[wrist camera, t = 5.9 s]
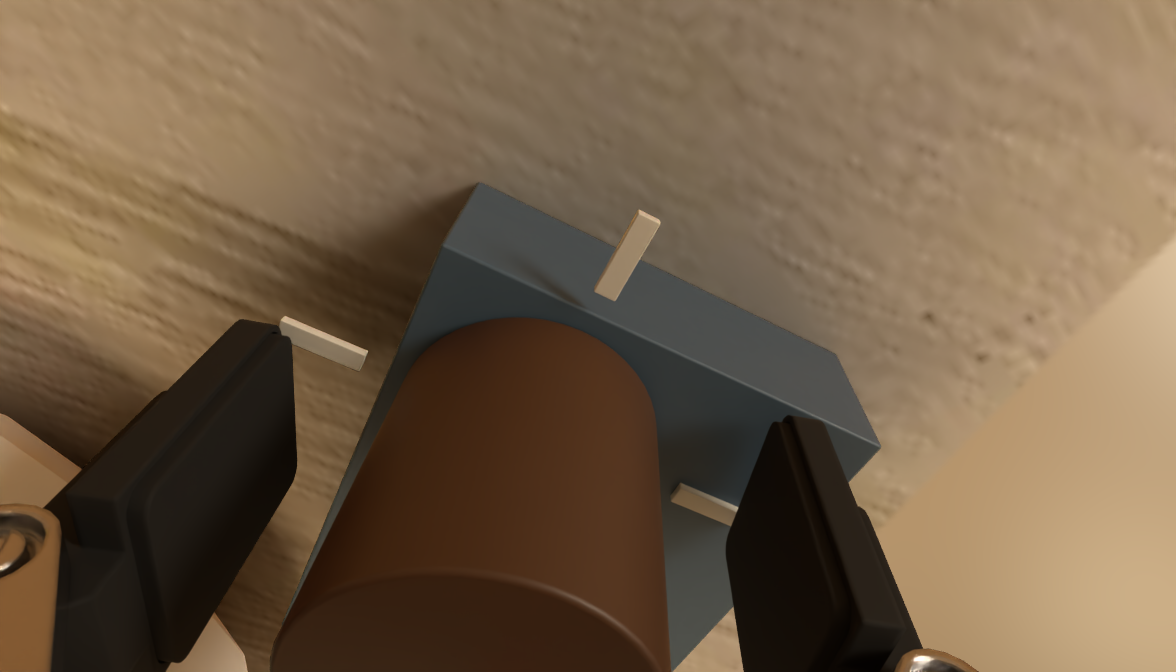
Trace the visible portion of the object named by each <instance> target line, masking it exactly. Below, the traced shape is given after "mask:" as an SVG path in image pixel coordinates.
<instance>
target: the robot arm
mask: <svg viewBox="0 0 1176 672" xmlns="http://www.w3.org/2000/svg"><path fill="white" fill-rule="evenodd" d="M296 469H297V447H296V425H295V403H294V381H293V359H292V343H291V339H290V337H288V336H284V335H282V333H281V330H280V327H278V326H277V325H273V324H267V323H261V322H256V321H250V320H244V319H241V320H238V321H237V322H235V323H234V324H233V325H232V326H231V327H230V328H229V329H228V330H227V331H226V332H225V333H224V334H223V335H222V336H221V337H220V338H219V339H218V340H217V341H216V342H215V343H214V344H213V345H212V346H211V347H210V348H209V349H208V350H207V351H206V352H205V353H204V354H203V355H202V356H201V357H200V358H199V359H198V360H197V361H196V362H195V363H194V364H193V365H192V366H191V367H190V368H189V369H188V370H187V371H186V372H185V373H184V374H183V375H182V376H181V377H180V378H179V379H178V380H177V381H176V382H175V383H174V384H173V385H172V386H171V387H170V388H169V389H168V390H167V391H163V392H161V393H160V394H159V395H157V396H156V397H155V398H154V399H153V400H152V401H151V402H150V403H149V404H148V405H147V406H146V407H145V408H144V409H143V410H142V411H141V412H140V413H139V414H137V415H136V416H135V417H134V418H133V419H132V420H131V421H130V422H129V423H128V424H127V425H126V426H125V427H124V428H123V429H122V430H121V431H120V432H119V433H118V434H117V435H116V436H115V437H114V438H113V439H112V440H111V441H110V442H109V443H108V444H107V445H106V446H105V447H104V448H103V449H102V450H101V451H100V452H99V453H98V454H97V455H96V456H95V457H94V458H93V459H92V460H91V461H90V462H89V463H88V464H87V465H86V466H85V467H84V468H83V469H82V470H81V471H80V472H79V473H78V474H77V475H76V476H75V477H74V478H73V479H72V480H71V481H70V482H69V483H68V484H67V485H66V486H65V487H64V488H63V489H62V490H61V491H60V492H59V493H58V494H57V495H56V496H55V497H54V498H53V499H52V500H51V501H50V502H49V503H47V504H46V505H45V506H44V507H43V508H41V507H39V506H36V505H29V504H19V503H13V504H2V505H0V672H166V670H167V669H168V667H169V666H170V664H171V662H172V663H181V662H182V661H183V660H184V659H185V658H186V657H187V656H188V654H189V653H190V651H191V650H192V648H193V646H194V645H195V643H196V641H197V640H198V638H199V637H200V635H201V633H202V632H203V630H204V628H205V627H206V625H207V623H208V622H209V620H210V618H211V617H212V615H213V613H214V612H215V610H216V608H217V607H218V605H219V603H220V602H221V600H222V599H223V597H224V595H225V594H226V592H227V590H228V589H229V587H230V585H231V584H232V582H233V580H234V579H235V577H236V575H237V574H238V572H239V570H240V569H241V567H242V565H243V564H244V562H245V561H246V559H247V557H248V556H249V554H250V552H251V551H252V549H253V547H254V546H255V544H256V542H257V541H258V539H259V537H260V536H261V534H262V532H263V531H264V529H265V527H266V526H267V524H268V523H269V521H270V519H271V518H272V516H273V514H274V513H275V511H276V509H277V508H278V506H279V504H280V503H281V501H282V499H283V498H284V496H285V494H286V493H287V491H288V489H289V488H290V486H291V484H292V482H293V480H294V477H295V473H296ZM725 554H726V562H727V568H728V574H729V581H730V587H731V593H732V600H733V606H734V612H735V619H736V625H737V631H738V638H739V644H740V650H741V657H742V663H743V670H744V672H978V671H977V670H976V669H974V668H973V667H971V666H970V665H968V664H967V663H966V662H964V661H962V660H961V659H958V658H956V657H954V656H952V655H950V654H948V653H945V652H941V651H937V650H932V649H923V647H922V645H921V643H920V640H919V638H918V635H917V633H916V630H915V628H914V626H913V623H912V621H911V618H910V616H909V613H908V611H907V608H906V606H905V604H904V601H903V599H902V596H901V594H900V591H899V589H898V587H897V584H896V582H895V579H894V577H893V575H892V572H891V570H890V567H889V565H888V562H887V560H886V558H885V555H884V553H883V550H882V548H881V545H880V543H879V540H878V538H877V536H876V533H875V531H874V528H873V526H872V524H871V521H870V519H869V517H868V515H867V513H866V512H865V510H863V509H862V508H861V507H859V506H857V504H856V501H855V499H854V496H853V494H852V491H851V489H850V486H849V484H848V481H847V479H846V476H845V474H844V471H843V469H842V466H841V464H840V461H839V459H838V456H837V454H836V451H835V449H834V446H833V444H832V441H831V439H830V436H829V434H828V431H827V429H826V426H825V424H824V423H823V422H822V421H820V420H815V419H810V418H804V417H798V416H792V415H787V416H786V417H785V418H784V419H783V420H782V422H777V421H775V422H773V423H772V424H771V426H770V428H769V430H768V433H767V435H766V438H765V441H764V443H763V446H762V448H761V451H760V453H759V456H758V459H757V461H756V464H755V466H754V469H753V471H752V474H751V476H750V479H749V482H748V484H747V487H746V489H745V492H744V494H743V497H742V499H741V502H740V505H739V507H738V510H737V512H736V515H735V517H734V520H733V522H732V525H731V528H730V530H729V533H728V536H727V540H726V550H725Z"/></svg>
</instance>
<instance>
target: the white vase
mask: <svg viewBox="0 0 1176 672" xmlns="http://www.w3.org/2000/svg"><path fill="white" fill-rule="evenodd" d="M81 470H82V469H81V468H80V467H78V466H77V465H75V464H74V463H73V462H71V461H70V460H68V459H67V458H66V457H64V456H63V455H61V454H60V453H59V452H57V451H56V450H54V449H53V448H52V447H50V446H49V445H47V444H46V443H45V442H43V441H42V440H40V439H39V438H38V437H36V436H35V435H33V434H32V433H31V432H29V431H28V430H26V429H25V428H24V427H22V426H21V425H19V424H18V423H17V422H15V421H14V420H12V419H11V418H10V417H8V416H6V415H3V414H1V413H0V505H2V504H13V503H19V504H29V505H36V506H39V507H41V508H43V507H44V506H45V505H46V504H47V503H49V502H50V501H51V500H52V499H53V498H54V497H55V496H56V495H57V494H58V493H59V492H60V491H61V490H62V489H63V488H64V487H65V486H66V485H67V484H68V483H69V482H70V481H71V480H72V479H73V478H74V477H75V476H76V475H77V474H78V473H79V472H80V471H81ZM166 672H248V671H247V666H246V660H245V655H244V653H243V652H242V650H241V649H240V648H239V646H238V645H237V643H236V642H235V641H234V639H233V638H232V636H231V635H230V634H229V632H228V631H227V629H226V628H225V626H224V625H223V624H222V622H221V621H220V619H219V618H218V617H217V615H216V614H215V612H214V613H213V615H212V617H211V618H210V620H209V622H208V623H207V625H206V627H205V628H204V630H203V632H202V633H201V635H200V637H199V638H198V640H197V641H196V643H195V645H194V646H193V648H192V650H191V651H190V653H189V654H188V656H187V657H186V658H185V659H184V660H183V661H182V662H181V663H172V662H171V664H170V666H169V667H168V669H167V670H166Z"/></svg>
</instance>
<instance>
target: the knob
mask: <svg viewBox="0 0 1176 672" xmlns="http://www.w3.org/2000/svg"><path fill="white" fill-rule="evenodd" d="M270 672H671V659H670V643H669V626H668V609H667V592H666V576H665V559H664V542H663V525H662V509H661V492H660V475H659V459H658V442H657V426H656V418H655V412H654V408H653V405H652V401H651V399H650V396H649V394H648V392H647V390H646V388H645V386H644V384H643V383H642V381H641V380H640V378H639V377H638V375H637V374H636V372H635V371H634V370H633V369H632V368H631V367H630V365H629V364H628V363H627V362H626V361H625V360H624V359H623V358H622V357H621V356H620V355H618V354H617V353H616V352H615V351H614V350H613V349H611V348H610V347H609V346H607V345H606V344H604V343H603V342H601V341H600V340H598V339H597V338H595V337H593V336H591V335H589V334H587V333H585V332H583V331H581V330H578V329H575V328H573V327H570V326H567V325H565V324H561V323H557V322H553V321H549V320H543V319H535V318H520V317H509V318H499V319H491V320H486V321H482V322H477V323H474V324H471V325H468V326H466V327H463V328H460V329H457V330H455V331H454V332H452V333H450V334H448V335H446V336H444V337H442V338H441V339H439V340H438V341H437V342H435V343H434V344H432V345H431V346H430V347H429V348H428V349H427V350H425V351H424V352H423V353H422V354H421V355H420V356H419V357H418V359H417V360H416V361H415V363H414V364H413V365H412V367H411V368H410V369H409V371H408V373H407V375H406V377H405V379H404V381H403V383H402V385H401V387H400V389H399V391H398V393H397V395H396V397H395V399H394V401H393V403H392V405H391V407H390V409H389V411H388V413H387V415H386V417H385V419H384V421H383V423H382V425H381V427H380V429H379V431H378V433H377V435H376V437H375V439H374V441H373V443H372V445H371V447H370V450H369V452H368V454H367V456H366V458H365V460H364V462H363V464H362V466H361V468H360V470H359V472H358V474H357V476H356V478H355V480H354V482H353V484H352V486H351V488H350V490H349V492H348V494H347V496H346V498H345V500H344V502H343V504H342V506H341V508H340V510H339V512H338V514H337V516H336V518H335V520H334V522H333V524H332V526H331V528H330V530H329V532H328V534H327V536H326V538H325V540H324V542H323V544H322V546H321V548H320V550H319V552H318V554H317V556H316V558H315V560H314V562H313V564H312V567H311V569H310V571H309V573H308V575H307V577H306V579H305V581H304V583H303V585H302V587H301V589H300V591H299V593H298V595H297V597H296V599H295V601H294V603H293V605H292V607H291V609H290V611H289V613H288V615H287V617H286V619H285V621H284V623H283V625H282V627H281V629H280V631H279V633H278V635H277V637H276V639H275V641H274V645H273V648H272V652H271V656H270Z"/></svg>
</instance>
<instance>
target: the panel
mask: <svg viewBox="0 0 1176 672" xmlns="http://www.w3.org/2000/svg"><path fill="white" fill-rule="evenodd" d="M659 226H660V220H659V219H657V218H655V217H653V216H651V215H649V214H647V213H645V212H643V211H641V210H638V211H637V212H636V214H635V216H634V218H633V219H632V221H631V223H630V225H629V227H628V228H627V230H626V232H625V234H624V235H623V237H622V239H621V241H620V242H619V244H618V246H617V248H615V247H613V246H611V245H609V244H607V243H605V242H603V241H601V240H598V239H596V238H594V237H592V236H590V235H588V234H586V233H584V232H582V231H580V230H578V229H576V228H574V227H572V226H570V225H568V224H565V223H563V222H561V221H559V220H557V219H555V218H553V217H551V216H549V215H547V214H545V213H543V212H541V211H539V210H537V209H535V208H532V207H530V206H528V205H526V204H524V203H522V202H520V201H518V200H516V199H514V198H512V197H510V196H508V195H506V194H504V193H501V192H499V191H497V190H495V189H493V188H491V187H489V186H487V185H485V184H483V183H481V182H478V183H477V185H476V186H475V188H474V190H473V191H472V193H471V195H470V196H469V198H468V200H467V201H466V203H465V205H464V207H463V208H462V210H461V212H460V213H459V215H458V217H457V218H456V220H455V222H454V223H453V225H452V227H451V229H450V230H449V232H448V234H447V235H446V237H445V239H444V240H443V242H442V244H441V246H440V248H439V250H438V253H437V255H436V258H435V260H434V262H433V265H432V267H431V270H430V272H429V274H428V277H427V279H426V281H425V284H424V286H423V289H422V291H421V293H420V296H419V298H418V301H417V303H416V305H415V308H414V310H413V312H412V315H411V317H410V320H409V322H408V324H407V327H406V329H405V332H404V334H403V336H402V339H401V341H400V343H399V346H398V348H397V351H396V353H395V355H394V358H393V360H392V363H391V365H390V367H389V370H388V372H387V374H386V377H385V379H384V382H383V384H382V386H381V389H380V391H379V394H378V396H377V398H376V401H375V403H374V405H373V408H372V410H371V413H370V415H369V417H368V420H367V422H366V425H365V427H364V429H363V432H362V434H361V436H360V439H359V441H358V444H357V446H356V448H355V451H354V453H353V456H352V458H351V460H350V463H349V465H348V467H347V470H346V472H345V475H344V477H343V479H342V482H341V484H340V487H339V489H338V491H337V494H336V496H335V498H334V501H333V503H332V506H331V508H330V510H329V513H328V515H327V518H326V520H325V522H324V525H323V527H322V529H321V532H320V534H319V537H318V539H317V541H316V544H315V546H314V549H313V551H312V553H311V556H310V558H309V560H308V563H307V565H306V568H305V570H304V572H303V575H302V577H301V580H300V582H299V584H298V587H297V589H296V591H295V594H294V596H293V599H292V601H291V603H290V606H289V608H288V611H287V613H286V615H285V618H284V620H283V622H282V625H283V623H284V621H285V619H286V617H287V615H288V613H289V611H290V609H291V607H292V605H293V603H294V601H295V599H296V597H297V595H298V593H299V591H300V589H301V587H302V585H303V583H304V581H305V579H306V577H307V575H308V573H309V571H310V569H311V567H312V564H313V562H314V560H315V558H316V556H317V554H318V552H319V550H320V548H321V546H322V544H323V542H324V540H325V538H326V536H327V534H328V532H329V530H330V528H331V526H332V524H333V522H334V520H335V518H336V516H337V514H338V512H339V510H340V508H341V506H342V504H343V502H344V500H345V498H346V496H347V494H348V492H349V490H350V488H351V486H352V484H353V482H354V480H355V478H356V476H357V474H358V472H359V470H360V468H361V466H362V464H363V462H364V460H365V458H366V456H367V454H368V452H369V450H370V447H371V445H372V443H373V441H374V439H375V437H376V435H377V433H378V431H379V429H380V427H381V425H382V423H383V421H384V419H385V417H386V415H387V413H388V411H389V409H390V407H391V405H392V403H393V401H394V399H395V397H396V395H397V393H398V391H399V389H400V387H401V385H402V383H403V381H404V379H405V377H406V375H407V373H408V371H409V369H410V368H411V367H412V365H413V364H414V363H415V361H416V360H417V359H418V357H419V356H420V355H421V354H422V353H423V352H424V351H425V350H427V349H428V348H429V347H430V346H431V345H432V344H434V343H435V342H437V341H438V340H439V339H441V338H442V337H444V336H446V335H448V334H450V333H452V332H454V331H455V330H457V329H460V328H463V327H466V326H468V325H471V324H474V323H477V322H482V321H486V320H491V319H499V318H509V317H520V318H535V319H543V320H549V321H553V322H557V323H561V324H565V325H567V326H570V327H573V328H575V329H578V330H581V331H583V332H585V333H587V334H589V335H591V336H593V337H595V338H597V339H598V340H600V341H601V342H603V343H604V344H606V345H607V346H609V347H610V348H611V349H613V350H614V351H615V352H616V353H617V354H618V355H620V356H621V357H622V358H623V359H624V360H625V361H626V362H627V363H628V364H629V365H630V367H631V368H632V369H633V370H634V371H635V372H636V374H637V375H638V377H639V378H640V380H641V381H642V383H643V384H644V386H645V388H646V390H647V392H648V394H649V396H650V399H651V401H652V405H653V408H654V412H655V418H656V426H657V442H658V459H659V475H660V492H661V509H662V525H663V542H664V559H665V576H666V592H667V609H668V626H669V643H670V659H671V672H673V671H674V669H675V668H676V667H677V666H678V665H679V664H680V663H681V662H682V661H683V660H684V659H685V658H686V657H687V655H688V654H689V653H690V652H691V651H692V650H693V649H694V648H695V647H696V646H697V645H698V644H699V643H700V642H701V640H702V639H703V638H704V637H705V636H706V635H707V634H708V633H709V632H710V631H711V630H712V629H713V628H714V627H715V625H716V624H717V623H718V622H719V621H720V620H721V619H722V618H723V617H724V616H725V615H726V614H727V613H728V611H729V610H730V609H731V608H732V607H733V600H732V593H731V587H730V581H729V574H728V568H727V562H726V554H725V550H726V540H727V536H728V533H729V530H730V528H731V525H732V522H733V520H734V517H735V515H736V512H737V510H738V507H739V505H740V502H741V499H742V497H743V494H744V492H745V489H746V487H747V484H748V482H749V479H750V476H751V474H752V471H753V469H754V466H755V464H756V461H757V459H758V456H759V453H760V451H761V448H762V446H763V443H764V441H765V438H766V435H767V433H768V430H769V428H770V426H771V424H772V423H773V422H775V421H777V422H782V420H783V419H784V418H785V417H786V416H787V415H792V416H798V417H804V418H810V419H815V420H820V421H822V422H823V423H824V424H825V426H826V429H827V431H828V434H829V436H830V439H831V441H832V444H833V446H834V449H835V451H836V454H837V456H838V459H839V461H840V464H841V466H842V469H843V471H844V474H845V476H846V479H847V481H848V483H849V482H850V481H851V479H852V478H853V477H854V476H855V475H856V474H857V473H858V472H859V471H860V470H861V469H862V468H863V467H864V466H865V464H866V463H867V462H868V461H869V460H870V459H871V458H872V457H873V456H874V455H875V454H876V453H877V452H878V450H879V449H880V448H881V444H880V442H879V440H878V438H877V436H876V434H875V432H874V430H873V428H872V426H871V424H870V422H869V420H868V418H867V416H866V414H865V412H864V410H863V408H862V406H861V404H860V402H859V400H858V398H857V396H856V394H855V392H854V390H853V388H852V386H851V384H850V382H849V380H848V378H847V376H846V373H845V371H844V369H843V367H842V365H841V363H840V361H839V359H838V357H837V356H836V354H834V353H832V352H829V351H827V350H825V349H823V348H821V347H819V346H817V345H815V344H813V343H811V342H809V341H807V340H805V339H803V338H801V337H799V336H796V335H794V334H792V333H790V332H788V331H786V330H784V329H782V328H780V327H778V326H776V325H774V324H772V323H770V322H768V321H766V320H763V319H761V318H759V317H757V316H755V315H753V314H751V313H749V312H747V311H745V310H743V309H741V308H739V307H737V306H735V305H733V304H730V303H728V302H726V301H724V300H722V299H720V298H718V297H716V296H714V295H712V294H710V293H708V292H706V291H704V290H702V289H700V288H697V287H695V286H693V285H691V284H689V283H687V282H685V281H683V280H681V279H679V278H677V277H675V276H673V275H671V274H669V273H667V272H664V271H662V270H660V269H658V268H656V267H654V266H652V265H650V264H648V263H646V262H644V261H642V260H640V258H641V256H642V255H643V253H644V251H645V250H646V248H647V246H648V244H649V243H650V241H651V239H652V238H653V236H654V234H655V233H656V231H657V229H658V227H659ZM278 327H280V330H281V333H282V335H284V336H288V337H290V339H291V343H292V344H293V345H295V346H298V347H300V348H303V349H305V350H308V351H310V352H312V353H315V354H317V355H320V356H322V357H324V358H327V359H329V360H332V361H334V362H336V363H339V364H341V365H344V366H346V367H348V368H351V369H353V370H356V371H358V372H359V371H360V370H361V368H362V366H363V364H364V361H365V358H366V356H367V353H368V351H367V350H365V349H362V348H360V347H358V346H355V345H353V344H351V343H348V342H346V341H343V340H341V339H339V338H336V337H334V336H332V335H329V334H327V333H325V332H322V331H320V330H317V329H315V328H313V327H310V326H308V325H306V324H303V323H301V322H298V321H296V320H294V319H291V318H289V317H287V316H284V317H283V318H282V319H281V320H280V323H279V326H278Z"/></svg>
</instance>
